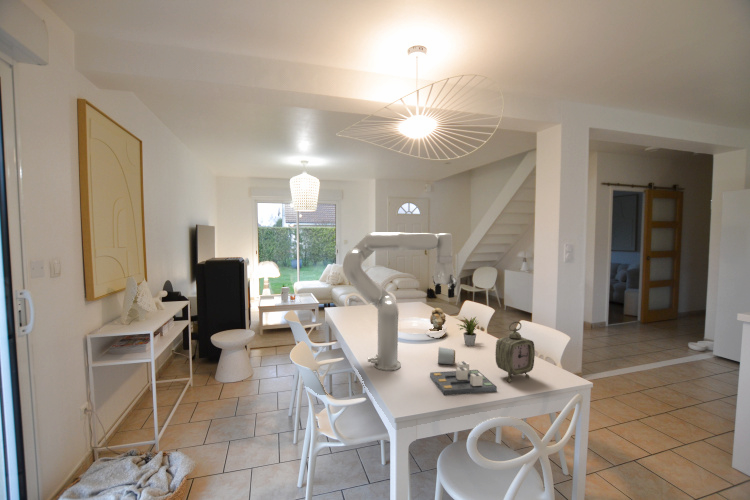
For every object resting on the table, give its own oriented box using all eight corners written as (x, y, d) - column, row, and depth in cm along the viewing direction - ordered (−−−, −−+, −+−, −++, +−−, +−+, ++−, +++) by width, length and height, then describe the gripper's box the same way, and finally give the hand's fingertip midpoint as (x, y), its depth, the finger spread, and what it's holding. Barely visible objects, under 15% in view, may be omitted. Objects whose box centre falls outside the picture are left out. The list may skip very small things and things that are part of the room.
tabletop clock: (508, 385, 138) (510, 325, 137) (493, 376, 146) (494, 320, 145) (534, 379, 144) (535, 322, 143) (517, 371, 152) (518, 317, 151)
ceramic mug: (455, 367, 157) (455, 351, 156) (437, 365, 158) (438, 349, 158) (454, 359, 167) (454, 344, 167) (437, 358, 169) (437, 343, 168)
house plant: (462, 338, 201) (462, 311, 200) (485, 342, 192) (486, 315, 192) (453, 344, 189) (453, 316, 188) (477, 349, 181) (477, 320, 180)
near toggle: (472, 386, 132) (473, 375, 132) (470, 383, 134) (470, 372, 134) (482, 385, 132) (482, 374, 132) (479, 382, 135) (479, 372, 135)
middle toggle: (458, 380, 137) (458, 369, 137) (456, 377, 140) (456, 367, 139) (467, 379, 138) (467, 369, 138) (465, 377, 140) (465, 367, 140)
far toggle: (460, 373, 144) (460, 363, 143) (458, 371, 146) (458, 361, 146) (469, 373, 144) (469, 363, 144) (466, 370, 147) (466, 361, 147)
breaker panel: (444, 395, 129) (444, 388, 129) (429, 377, 145) (430, 371, 145) (496, 391, 132) (496, 385, 132) (477, 374, 149) (477, 368, 149)
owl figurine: (424, 330, 217) (425, 304, 217) (442, 330, 217) (443, 305, 217) (428, 338, 199) (429, 310, 199) (448, 339, 199) (449, 311, 199)
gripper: (426, 258, 162) (427, 293, 162) (449, 261, 146) (450, 299, 147) (439, 258, 165) (439, 292, 166) (463, 260, 149) (463, 298, 150)
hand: (444, 295), depth 156 cm, fingers open, 9 cm apart
